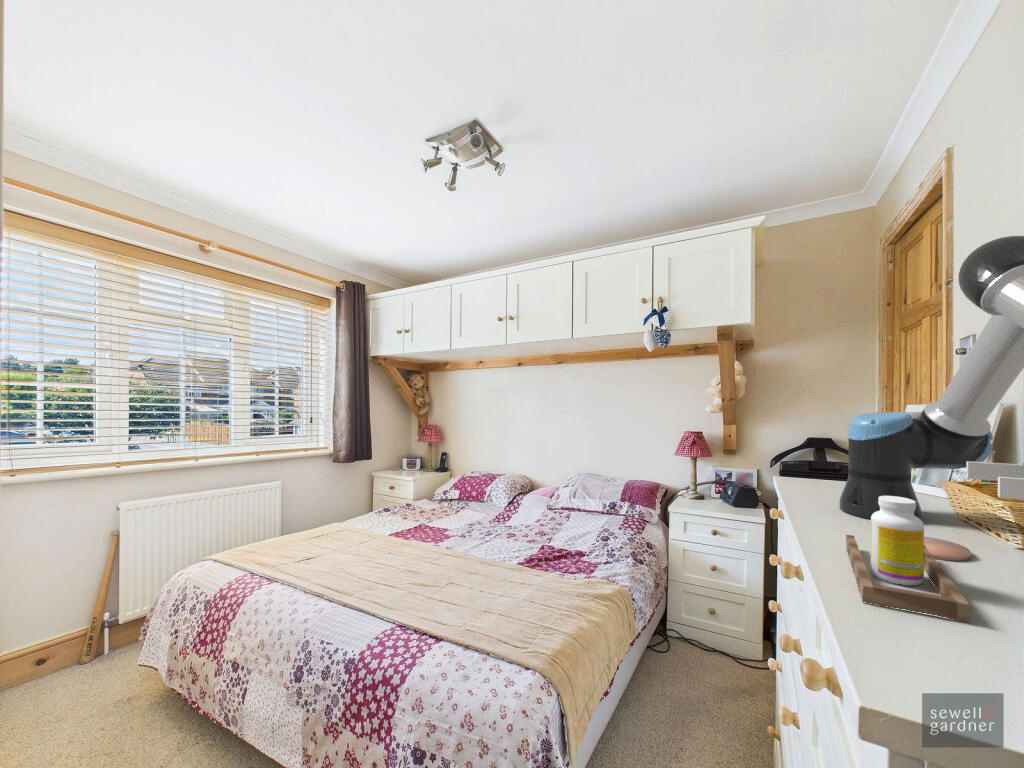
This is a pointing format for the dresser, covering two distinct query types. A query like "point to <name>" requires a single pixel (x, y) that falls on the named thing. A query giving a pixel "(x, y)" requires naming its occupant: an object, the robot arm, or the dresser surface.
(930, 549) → the pink round coaster
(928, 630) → the dresser surface
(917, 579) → the supplement bottle
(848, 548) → the walnut channel
